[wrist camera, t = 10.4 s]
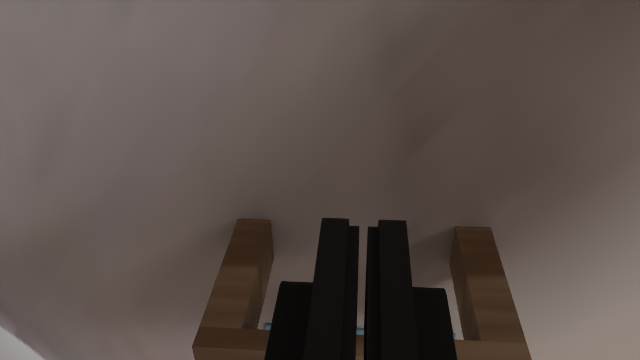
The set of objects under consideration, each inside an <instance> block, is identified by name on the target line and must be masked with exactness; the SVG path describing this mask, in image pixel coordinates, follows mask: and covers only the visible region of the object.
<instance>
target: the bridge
mask: <svg viewBox="0 0 640 360" xmlns="http://www.w3.org/2000/svg"><path fill="white" fill-rule="evenodd" d="M273 260H274V255H273V243H272V231H271V220H251V219H238V220H237V223H236V226H235V229H234V232H233V234H232V237H231V240H230V243H229V245H228V248H227V251H226V254H225V257H224V259H223V262H222V265H221V268H220V270H219V273H218V276H217V279H216V282H215V284H214V287H213V290H212V293H211V296H210V298H209V301H208V304H207V307H206V309H205V312H204V315H203V318H202V321H201V323H200V326H199V329H198V332H197V334H196V337H195V340H194V343H193V346H192V349H193V353H194V358H195V360H264V358H265V353H266V348H267V343H268V338H269V334H270V330H259V329H257V327H258V323H259V318H260V314H261V310H262V306H263V302H264V297H265V293H266V289H267V285H268V281H269V276H270V272H271V268H272V264H273ZM450 268H451V273H452V279H453V284H454V290H455V295H456V300H457V306H458V311H459V316H460V322H461V327H462V332H463V338H464V340H454V342H455V348H456V354H457V360H532V359H531V356H530V353H529V350H528V346H527V343H526V340H525V337H524V334H523V330H522V327H521V324H520V321H519V318H518V314H517V311H516V308H515V305H514V301H513V298H512V295H511V292H510V289H509V285H508V282H507V279H506V276H505V273H504V269H503V266H502V263H501V260H500V256H499V253H498V250H497V247H496V244H495V240H494V237H493V234H492V231H491V228H478V227H456V229H455V235H454V242H453V249H452V256H451V262H450ZM356 360H364V335H356Z"/></svg>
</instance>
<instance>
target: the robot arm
mask: <svg viewBox="0 0 640 360" xmlns="http://www.w3.org/2000/svg"><path fill="white" fill-rule="evenodd" d="M358 255H359V226H349V219H343V218H322V222H321V229H320V237H319V244H318V251H317V259H316V266H315V274H314V281H313V283H310V282H288V281H282V282H281V284H280V287H279V291H278V296H277V300H276V305H275V310H274V315H273V319H272V324H271V329H270V334H269V338H268V343H267V348H266V353H265V358H264V360H356V330H357V293H358ZM364 360H457V354H456V348H455V342H454V336H453V330H452V324H451V318H450V312H449V306H448V300H447V295H446V291H445V289H444V288H423V287H412V278H411V267H410V257H409V246H408V235H407V224H406V221H401V220H379V222H378V227H368V236H367V263H366V290H365V316H364Z"/></svg>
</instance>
